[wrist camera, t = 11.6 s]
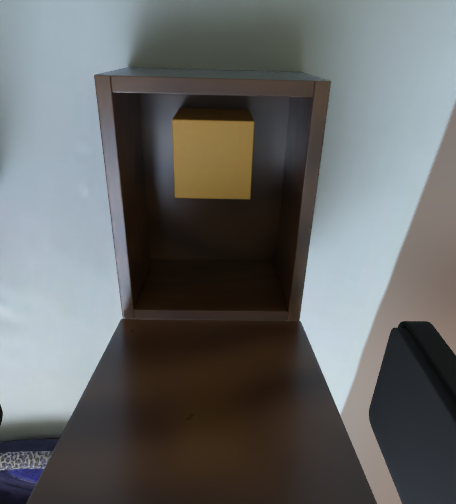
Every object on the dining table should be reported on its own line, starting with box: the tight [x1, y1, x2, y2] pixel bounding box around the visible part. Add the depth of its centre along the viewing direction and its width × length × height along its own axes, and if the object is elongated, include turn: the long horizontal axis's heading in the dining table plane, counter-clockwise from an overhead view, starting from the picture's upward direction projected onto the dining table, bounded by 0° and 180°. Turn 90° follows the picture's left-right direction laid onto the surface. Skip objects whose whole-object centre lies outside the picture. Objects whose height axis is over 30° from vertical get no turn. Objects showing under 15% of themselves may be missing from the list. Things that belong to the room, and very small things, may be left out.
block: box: [172, 108, 255, 199], centre depth 29 cm, size 5×5×5 cm
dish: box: [0, 439, 59, 504], centre depth 49 cm, size 16×31×5 cm, turn 85°
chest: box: [94, 67, 331, 321], centre depth 30 cm, size 17×13×9 cm
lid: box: [26, 319, 377, 504], centre depth 22 cm, size 18×13×5 cm
